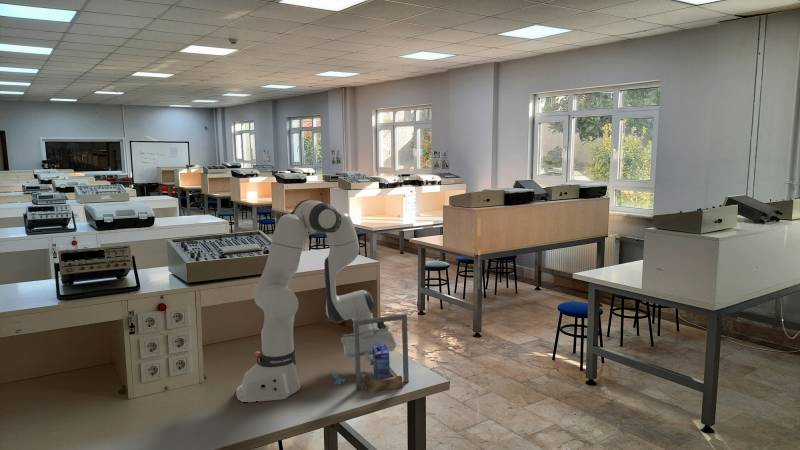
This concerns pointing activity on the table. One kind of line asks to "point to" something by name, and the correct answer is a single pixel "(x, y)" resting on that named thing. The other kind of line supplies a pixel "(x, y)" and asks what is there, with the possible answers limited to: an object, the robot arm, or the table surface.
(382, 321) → the scanner arch
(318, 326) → the table surface
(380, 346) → the ink cartridge box
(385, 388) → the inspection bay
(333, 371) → the adjustable wrench
